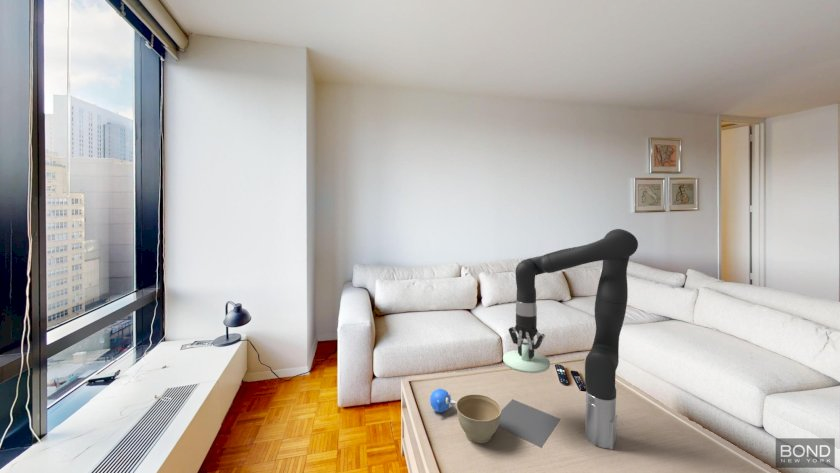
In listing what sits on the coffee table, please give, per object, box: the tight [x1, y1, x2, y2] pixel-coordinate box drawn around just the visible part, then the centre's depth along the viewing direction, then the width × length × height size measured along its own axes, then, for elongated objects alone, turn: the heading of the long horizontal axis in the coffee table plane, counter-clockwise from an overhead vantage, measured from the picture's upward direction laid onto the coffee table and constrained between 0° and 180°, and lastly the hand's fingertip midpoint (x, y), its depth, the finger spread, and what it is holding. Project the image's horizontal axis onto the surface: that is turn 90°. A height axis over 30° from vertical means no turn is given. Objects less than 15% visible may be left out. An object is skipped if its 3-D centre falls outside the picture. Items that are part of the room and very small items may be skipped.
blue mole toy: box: [429, 388, 457, 413], centre depth 130 cm, size 12×12×8 cm
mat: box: [498, 399, 561, 448], centre depth 123 cm, size 20×20×1 cm
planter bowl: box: [455, 393, 502, 444], centre depth 115 cm, size 16×16×11 cm
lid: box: [502, 342, 551, 374], centre depth 120 cm, size 17×17×7 cm
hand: (525, 356), depth 121 cm, fingers closed on lid, 3 cm apart
